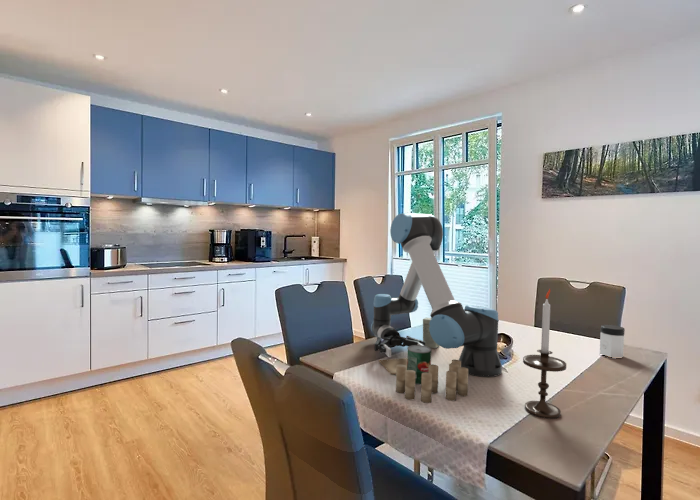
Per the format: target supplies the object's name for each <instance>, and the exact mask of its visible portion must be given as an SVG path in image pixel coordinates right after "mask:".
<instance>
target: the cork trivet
mask: <svg viewBox="0 0 700 500" xmlns="http://www.w3.org/2000/svg"><path fill="white" fill-rule="evenodd" d="M378 362H379V363H380V364H381V366H383V368H384V369H385V370H386V371H387V372H388V373H389V375H392V376H393V375H396V366H397V365H399V364H401V365H405V366H406V370H407V357H403V358H388V359H379V360H378Z"/></svg>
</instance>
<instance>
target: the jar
mask: <svg viewBox="0 0 700 500" xmlns="http://www.w3.org/2000/svg"><path fill="white" fill-rule="evenodd" d="M625 332H626V331H625V328H624V327H622V326H620V325H615V324H601V325H600V339H599V355H600V354H603V355H607V356H610V357H623V358H624V344H625Z"/></svg>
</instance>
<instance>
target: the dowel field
mask: <svg viewBox="0 0 700 500" xmlns="http://www.w3.org/2000/svg"><path fill="white" fill-rule="evenodd" d="M395 375H396V376H395V392H396V393H398V394H404V398H405V399H406V400H408V401H413V400H415V399H416V384H415V371H413V370H406V366H405V365H401V364H399V365H397V366H396V374H395ZM420 388H421V389H420V390H421V391H420V392H421V393H420V401H421V402H422V403H424V404H431V402H432V394H436V393H438V392H439V366H438V364H432V363H431V365H429V373H426V372H425V373H422V379H421V385H420ZM468 388H469V374H468V369H467V368H465V367H461V361H460V360H459V359H452V360H451V362H450V363H448V370H447V371H446V372H445V399H446V400H447V401H452V402H453V401H456V399H457V395H458V396H460V397H467V396H468V393H469V391H468V390H469V389H468Z"/></svg>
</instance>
